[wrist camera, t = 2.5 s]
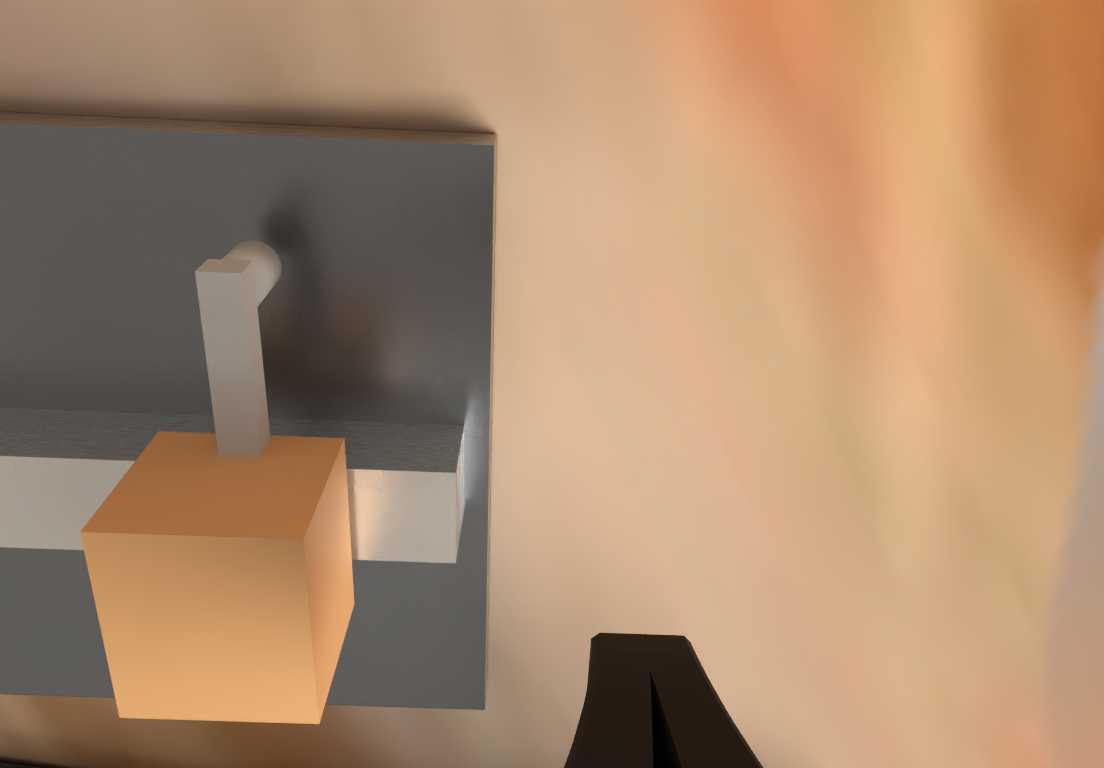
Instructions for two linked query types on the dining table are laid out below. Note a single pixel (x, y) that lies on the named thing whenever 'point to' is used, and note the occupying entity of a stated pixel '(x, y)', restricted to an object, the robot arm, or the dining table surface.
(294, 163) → the grey slotted base plate
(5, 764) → the ammunition clip
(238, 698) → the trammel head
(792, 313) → the dining table surface
